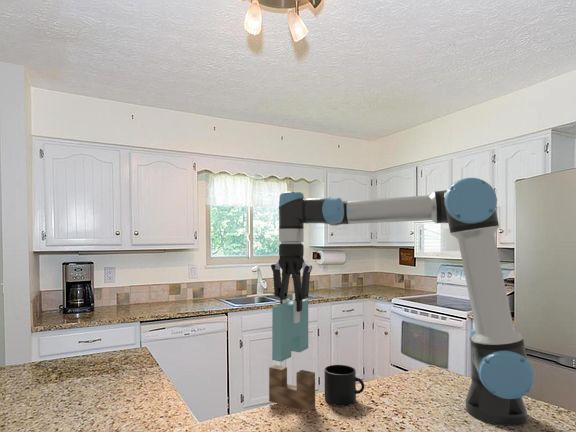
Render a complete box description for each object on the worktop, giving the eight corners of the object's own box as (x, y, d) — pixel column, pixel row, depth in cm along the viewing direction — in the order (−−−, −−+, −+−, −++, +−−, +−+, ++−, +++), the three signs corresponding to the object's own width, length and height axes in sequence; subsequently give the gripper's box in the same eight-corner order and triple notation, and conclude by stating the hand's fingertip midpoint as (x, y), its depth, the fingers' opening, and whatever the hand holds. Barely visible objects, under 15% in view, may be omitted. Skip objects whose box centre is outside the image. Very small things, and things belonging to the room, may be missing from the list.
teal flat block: (300, 346, 123) (300, 299, 124) (308, 348, 122) (308, 299, 122) (272, 360, 109) (272, 306, 110) (281, 361, 108) (281, 307, 109)
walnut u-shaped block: (315, 407, 112) (315, 372, 113) (310, 411, 110) (310, 375, 110) (274, 397, 119) (274, 364, 120) (269, 401, 117) (269, 367, 117)
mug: (363, 409, 111) (362, 376, 112) (322, 404, 114) (321, 373, 115) (365, 396, 120) (365, 366, 121) (327, 392, 124) (327, 363, 124)
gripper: (320, 243, 117) (320, 322, 115) (275, 243, 125) (275, 316, 123) (308, 243, 110) (309, 327, 109) (262, 243, 118) (261, 321, 117)
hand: (291, 321), depth 116 cm, fingers closed on teal flat block, 3 cm apart
